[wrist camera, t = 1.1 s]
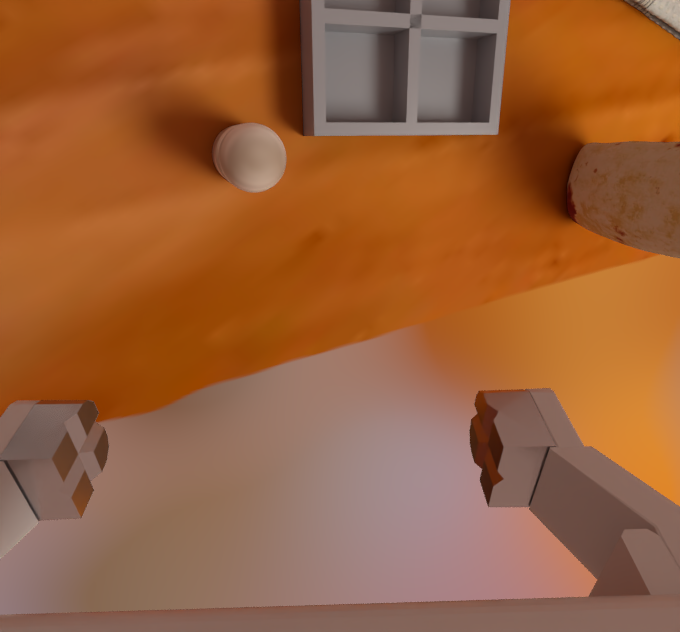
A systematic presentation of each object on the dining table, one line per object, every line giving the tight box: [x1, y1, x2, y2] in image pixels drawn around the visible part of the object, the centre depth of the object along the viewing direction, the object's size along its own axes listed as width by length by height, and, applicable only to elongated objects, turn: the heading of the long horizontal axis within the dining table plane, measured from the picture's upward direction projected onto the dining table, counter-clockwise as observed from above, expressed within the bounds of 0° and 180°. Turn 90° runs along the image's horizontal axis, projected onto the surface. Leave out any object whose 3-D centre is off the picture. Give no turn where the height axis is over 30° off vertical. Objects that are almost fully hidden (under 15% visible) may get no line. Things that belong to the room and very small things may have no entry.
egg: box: [212, 123, 286, 192], centre depth 39 cm, size 5×5×10 cm
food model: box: [567, 141, 680, 258], centre depth 45 cm, size 10×7×20 cm
